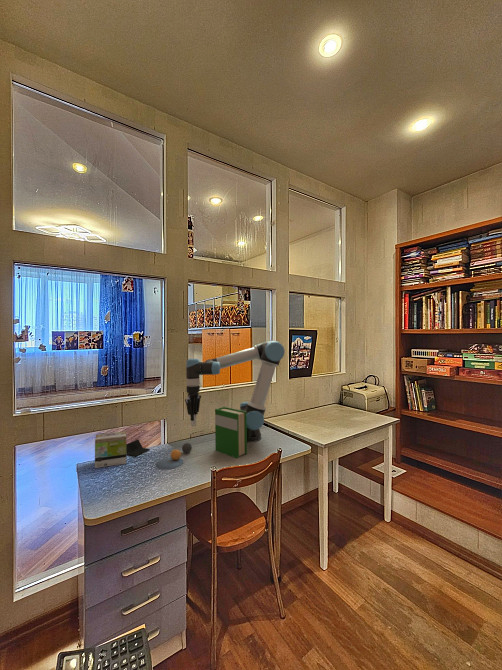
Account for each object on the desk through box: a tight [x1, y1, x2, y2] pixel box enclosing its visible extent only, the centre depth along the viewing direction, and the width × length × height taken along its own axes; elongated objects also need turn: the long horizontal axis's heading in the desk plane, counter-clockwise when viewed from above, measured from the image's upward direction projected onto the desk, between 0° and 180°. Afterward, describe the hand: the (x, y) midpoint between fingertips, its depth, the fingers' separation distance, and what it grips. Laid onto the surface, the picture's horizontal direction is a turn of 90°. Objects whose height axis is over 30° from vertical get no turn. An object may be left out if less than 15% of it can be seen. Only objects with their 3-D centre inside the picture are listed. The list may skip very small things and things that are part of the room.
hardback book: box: [214, 406, 248, 460], centre depth 174 cm, size 18×7×24 cm, turn 49°
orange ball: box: [170, 449, 182, 460], centre depth 165 cm, size 6×6×6 cm
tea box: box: [94, 430, 127, 469], centre depth 162 cm, size 15×10×15 cm, turn 114°
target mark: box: [155, 457, 184, 470], centre depth 160 cm, size 14×14×1 cm
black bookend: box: [126, 439, 151, 458], centre depth 176 cm, size 12×7×10 cm
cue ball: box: [181, 442, 193, 454], centre depth 174 cm, size 6×6×6 cm
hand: (193, 425), depth 179 cm, fingers closed
